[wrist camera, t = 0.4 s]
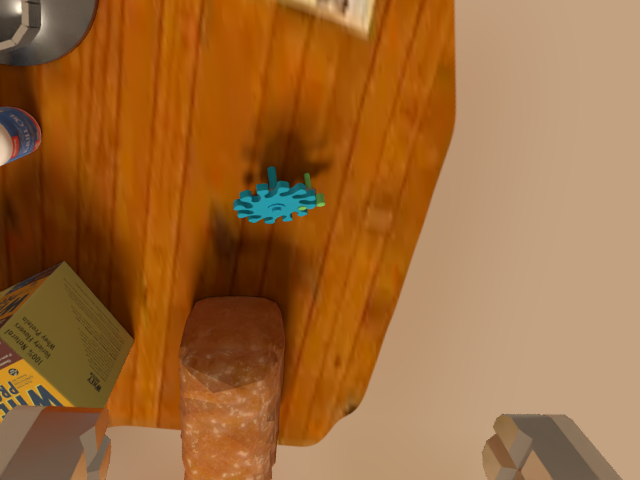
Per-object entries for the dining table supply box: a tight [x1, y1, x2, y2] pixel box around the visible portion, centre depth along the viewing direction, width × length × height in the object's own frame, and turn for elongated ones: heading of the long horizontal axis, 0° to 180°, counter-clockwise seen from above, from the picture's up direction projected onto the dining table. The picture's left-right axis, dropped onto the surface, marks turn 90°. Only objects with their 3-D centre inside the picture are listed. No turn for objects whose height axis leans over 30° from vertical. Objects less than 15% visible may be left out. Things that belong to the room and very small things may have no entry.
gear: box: [233, 167, 325, 224], centre depth 51 cm, size 11×6×10 cm
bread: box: [179, 296, 285, 480], centre depth 58 cm, size 14×26×16 cm, turn 174°
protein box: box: [0, 261, 134, 423], centre depth 51 cm, size 10×15×16 cm
